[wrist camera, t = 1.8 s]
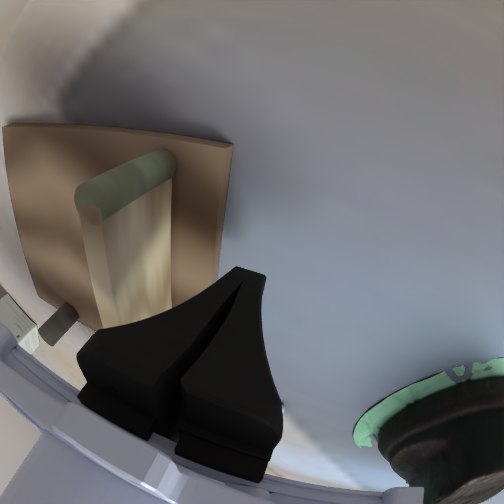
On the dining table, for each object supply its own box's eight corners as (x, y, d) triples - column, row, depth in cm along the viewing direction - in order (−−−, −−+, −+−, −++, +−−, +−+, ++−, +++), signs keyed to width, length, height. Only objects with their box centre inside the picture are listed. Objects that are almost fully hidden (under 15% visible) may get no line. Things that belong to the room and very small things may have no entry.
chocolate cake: (502, 442, 20) (506, 504, 12) (357, 463, 27) (344, 529, 20) (571, 332, 11) (605, 423, 4) (353, 373, 19) (335, 496, 11)
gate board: (208, 372, 23) (184, 420, 19) (44, 291, 26) (14, 318, 22) (233, 144, 13) (180, 173, 9) (11, 123, 16) (-37, 142, 12)
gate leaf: (179, 361, 21) (148, 412, 17) (156, 351, 21) (124, 399, 17) (181, 151, 13) (107, 188, 9) (145, 146, 13) (68, 179, 9)
